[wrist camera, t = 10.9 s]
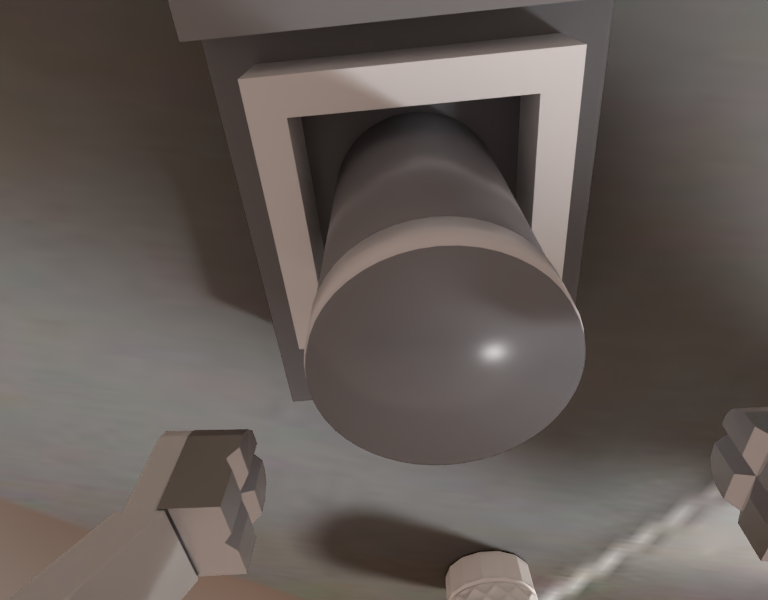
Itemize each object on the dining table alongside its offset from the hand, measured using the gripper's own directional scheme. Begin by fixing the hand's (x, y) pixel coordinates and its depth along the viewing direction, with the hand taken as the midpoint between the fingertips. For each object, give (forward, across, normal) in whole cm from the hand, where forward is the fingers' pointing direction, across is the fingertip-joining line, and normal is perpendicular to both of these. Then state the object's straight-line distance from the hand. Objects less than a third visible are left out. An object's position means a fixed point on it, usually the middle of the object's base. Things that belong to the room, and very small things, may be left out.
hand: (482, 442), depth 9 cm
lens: (+12, +1, 0) cm, 12 cm away
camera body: (+17, +1, 0) cm, 17 cm away
